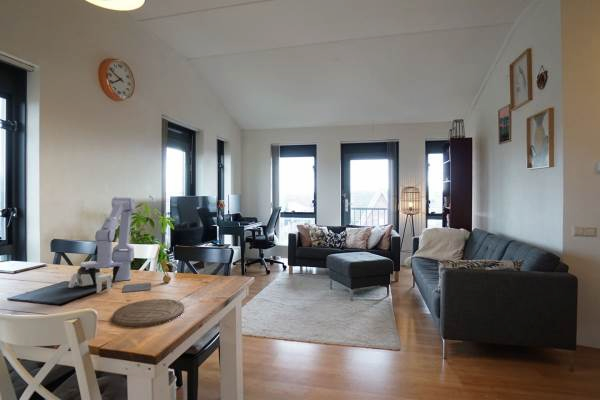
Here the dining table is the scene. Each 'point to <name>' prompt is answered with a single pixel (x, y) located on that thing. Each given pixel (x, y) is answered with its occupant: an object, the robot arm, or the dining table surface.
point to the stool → (99, 282)
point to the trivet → (148, 312)
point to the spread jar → (84, 276)
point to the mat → (136, 287)
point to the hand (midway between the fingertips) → (104, 283)
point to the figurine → (166, 277)
